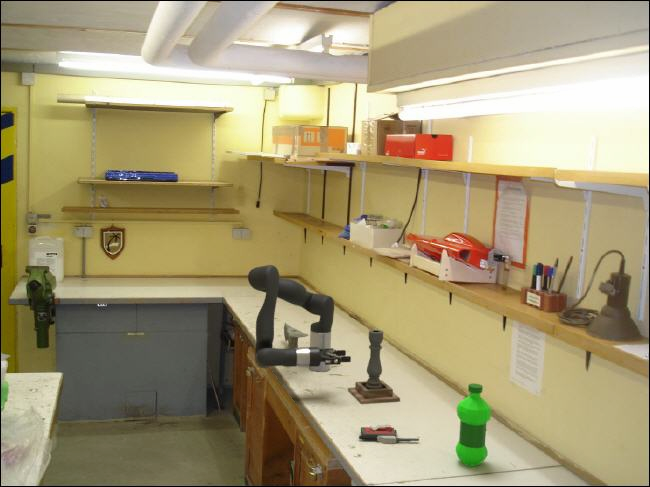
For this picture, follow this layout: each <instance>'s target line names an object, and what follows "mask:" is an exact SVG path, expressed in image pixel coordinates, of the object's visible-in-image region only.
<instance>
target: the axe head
mask: <svg viewBox="0 0 650 487" xmlns="http://www.w3.org/2000/svg"><path fill="white" fill-rule="evenodd" d="M283 335H284V341H285V342H288V344H287V348H299V338H305V337H308V336H309V334H308V333H305V332H304V333H303V332H302V331H300V330H299V329H296V328H295V327H292V326H290V325H289V324H287V323H286V322H284V325H283Z"/></svg>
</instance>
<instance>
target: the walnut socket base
mask: <svg viewBox="0 0 650 487" xmlns="http://www.w3.org/2000/svg"><path fill="white" fill-rule="evenodd" d="M380 381H381V385H382V386H381V389H371V390H367V389H366V384H367V380H366V381H365V380H364V381H354V382H355V384H354V386H355V387H347V392H349V393H350V394H351V395H352V396H353V398H355V399H356V401H358V402H359V404H361V405H363V404H364V405H365V404H366V405H369V404H380V403H393V402H395V403H396V402H397V403H398V402H401V397H399V396H398V394H396V393H395V392H394V389H393V388H392V387H391V386H389V385H388V383H386V382H385V381H384V380H382V379H380Z"/></svg>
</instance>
